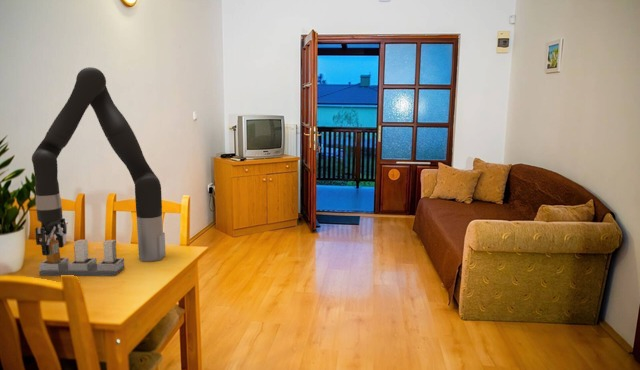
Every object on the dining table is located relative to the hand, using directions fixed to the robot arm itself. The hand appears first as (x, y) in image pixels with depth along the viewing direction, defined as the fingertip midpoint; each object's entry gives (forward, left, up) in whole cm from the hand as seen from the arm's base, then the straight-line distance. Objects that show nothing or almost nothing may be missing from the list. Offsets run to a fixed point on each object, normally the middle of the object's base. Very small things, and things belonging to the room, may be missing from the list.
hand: (53, 251), depth 154 cm
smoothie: (+15, -31, -8) cm, 35 cm away
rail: (-10, 0, -8) cm, 12 cm away
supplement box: (0, 0, -6) cm, 6 cm away
